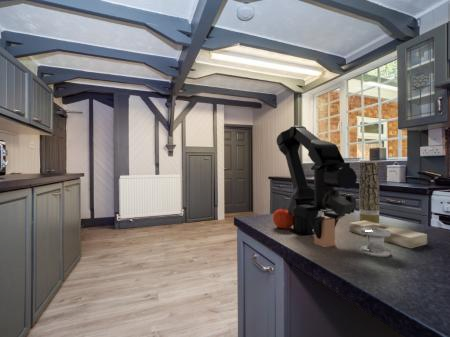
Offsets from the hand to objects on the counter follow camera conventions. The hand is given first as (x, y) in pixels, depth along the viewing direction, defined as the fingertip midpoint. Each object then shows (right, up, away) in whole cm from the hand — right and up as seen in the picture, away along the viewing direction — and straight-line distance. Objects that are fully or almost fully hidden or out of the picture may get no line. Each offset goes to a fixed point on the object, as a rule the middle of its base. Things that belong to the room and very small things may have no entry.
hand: (324, 237), depth 74 cm
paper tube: (+28, -2, +24) cm, 37 cm away
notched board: (+22, -2, +7) cm, 23 cm away
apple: (-8, -2, +20) cm, 21 cm away
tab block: (0, -2, 0) cm, 2 cm away
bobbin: (+11, -2, -7) cm, 13 cm away
